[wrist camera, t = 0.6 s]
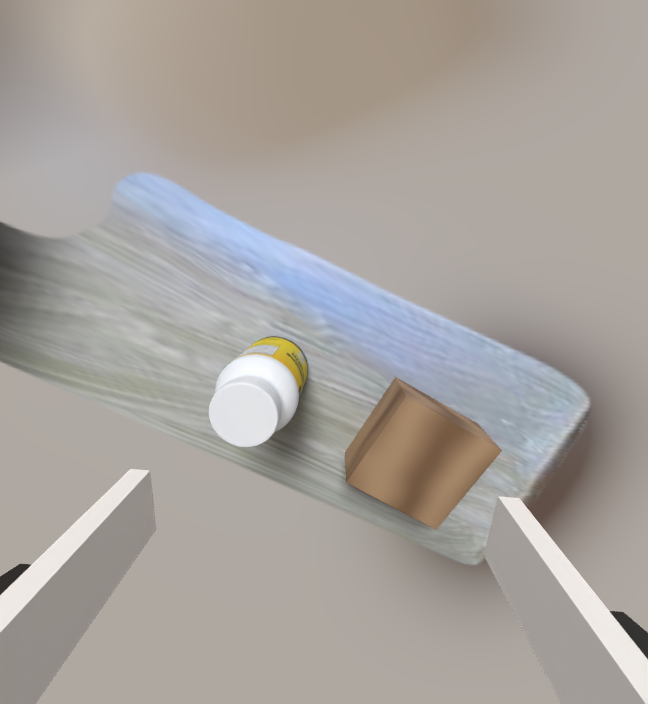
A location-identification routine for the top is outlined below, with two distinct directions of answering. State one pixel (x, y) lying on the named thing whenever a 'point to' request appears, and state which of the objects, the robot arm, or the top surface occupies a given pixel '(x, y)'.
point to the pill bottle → (258, 392)
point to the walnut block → (418, 454)
